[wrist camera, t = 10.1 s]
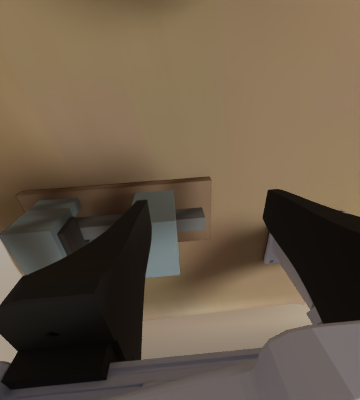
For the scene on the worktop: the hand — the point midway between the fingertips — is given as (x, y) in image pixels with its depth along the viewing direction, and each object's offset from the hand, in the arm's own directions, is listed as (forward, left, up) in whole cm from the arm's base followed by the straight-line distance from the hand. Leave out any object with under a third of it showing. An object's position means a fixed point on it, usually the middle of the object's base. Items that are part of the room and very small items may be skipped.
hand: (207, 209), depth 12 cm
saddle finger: (+4, +6, -8) cm, 11 cm away
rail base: (+8, +6, -9) cm, 14 cm away
